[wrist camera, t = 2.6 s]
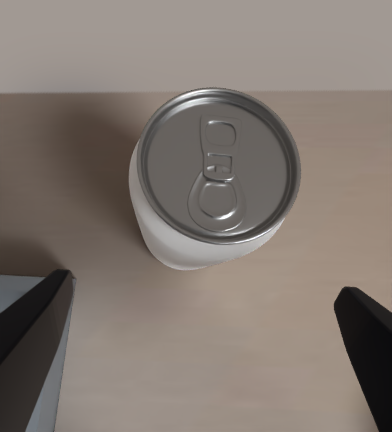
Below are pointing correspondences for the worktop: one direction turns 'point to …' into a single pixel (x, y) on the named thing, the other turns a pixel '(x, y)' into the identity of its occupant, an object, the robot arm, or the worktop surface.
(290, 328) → the worktop surface
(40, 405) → the tray
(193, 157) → the can
